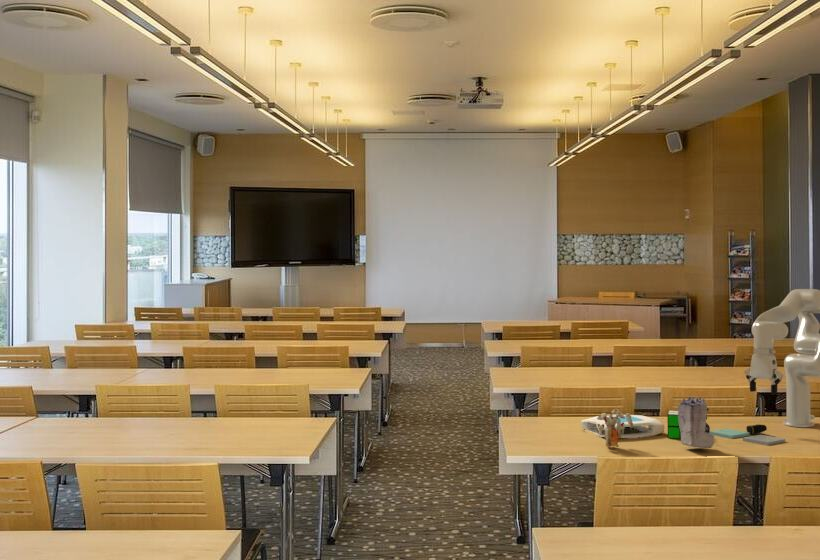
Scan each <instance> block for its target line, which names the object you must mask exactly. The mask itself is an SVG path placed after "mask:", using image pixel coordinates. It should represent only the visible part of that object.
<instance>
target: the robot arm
mask: <svg viewBox="0 0 820 560" xmlns="http://www.w3.org/2000/svg"><path fill="white" fill-rule="evenodd" d="M814 314H820V289H816V288H797V289H796V288H795V289H792V290H790V292H789V293H788V294H787V295H786V297H785V298H784V299H783V300H782V301H781V303H780V304H779V305H778V306H775V307H772V308H770V309H768V310H767V311H764V312H762V313H761V314H759V316H758V317H757V318H756V319H755V321H754V322H752V323H753V324H752V326H751V334H752V335H753V354H752V355H751V361H750V368H748V369H746V370H744V371H743V373H744V375H745V378H746V379H747V381H748V382H749V391H750V392H756V391H757V382H756V380H757V379H759V380H769V381H770V382H771V385H770V394H771V395H777V394H778V385H779V384H780V382H782V379H783V377H784V374H783V373H781V372H780V371H779V370H778V364H777V358H776V355H774V354H776V353H777V352H776V350H775V349H774V340H783V339H785V338H786V337H787V336H788V333H789V327H788V325H787V324H785V323H788V322H791V321H794V320H795V319H796V318H798V322H799V323H798V327H797V330H796V331H797V332H796V334H795V338H794V342H793V349H794V351H795V352H797V353H790V354H788V355H786V356H785V358H784V360H783V366H784V372H785V379H786V380H785V381H786V384H785V385H786V420H783V421H782V424H783V425H785V426H788V427H793V428H813V427H815V423H814V422H812V420H815V418H816V416H815V415H814V414H811V385H810V382H809V380H808V379H807V377H811V378H820V322H819V320H818V319H817V318H816V316H815V315H814Z"/></svg>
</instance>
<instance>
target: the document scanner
mask: <svg viewBox="0 0 820 560" xmlns="http://www.w3.org/2000/svg"><path fill="white" fill-rule="evenodd" d="M612 415H613V417H616V415H617V414H612ZM623 415H624V416H625V419H622V418H620V417H618V418H620V420H621V423H623V422H624V424H625V427H630V428H629V429H631V428H634V429H633V430H635V429H637V430H636V431H638V430H639V432H637V433H636V432H635V433H624V434H621V438H628V439H639V438H638V437H640V438H646V437H647V438H648V437H649V438H650V437H655V436H657V435H659V434H660V435H661V434H662V433H664V432H665V424H664V423H663V422H661V421H660V420H659V419H657V418H653V417H649V416H645V415H641V414H640V415H639V414H630V415H631V419H632V423H633V426H630V424H628V422H627V420H626V414H623ZM598 416H599V415H597V416H592V417H590V418H585V419H582V420H581V422H580V423H581V424H580V425H581V429H582V428H583V429H585V430H589V431H590V432H593V433H595V434H596V435H599V434H598V428H597V427H598V424H600V425H602V424H604V429H606V424H605V420H598V419H597V418H598ZM607 417H608V418H610V417H609V414H607ZM645 426H648V427H645ZM615 428H616V429H617V423H616V425H615ZM583 429H582V430H583ZM604 429H603V430H604ZM599 436H601V437H605V435H599ZM604 439H606V437H605V438H604Z"/></svg>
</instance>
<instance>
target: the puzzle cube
mask: <svg viewBox="0 0 820 560" xmlns="http://www.w3.org/2000/svg"><path fill="white" fill-rule="evenodd" d="M667 411H668V412H667V438H668V439H675V440H681V432H680V428H679V422H678V410H667Z"/></svg>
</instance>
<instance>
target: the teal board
mask: <svg viewBox="0 0 820 560" xmlns="http://www.w3.org/2000/svg"><path fill="white" fill-rule="evenodd" d="M709 434H712V435H714V437H715V436H716V437H720V438H726V439H731V440H732V439H733V440H734V439H737V438H744V437H750V436H751V433H749V432H747V431H743V430H736V429H730V428H723V429H717V430H710V432H709Z"/></svg>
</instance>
